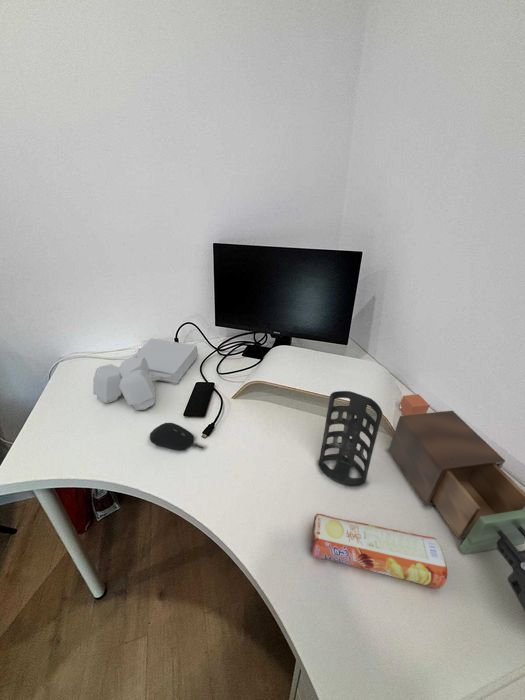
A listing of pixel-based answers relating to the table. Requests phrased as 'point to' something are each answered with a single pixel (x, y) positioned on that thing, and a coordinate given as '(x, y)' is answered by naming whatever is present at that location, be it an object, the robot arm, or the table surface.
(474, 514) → the drawer
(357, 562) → the snack package
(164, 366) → the game console
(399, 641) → the table surface
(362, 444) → the holder
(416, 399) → the block
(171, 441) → the gaming mouse
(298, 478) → the table surface
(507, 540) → the robot arm
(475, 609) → the table surface
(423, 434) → the cabinet
